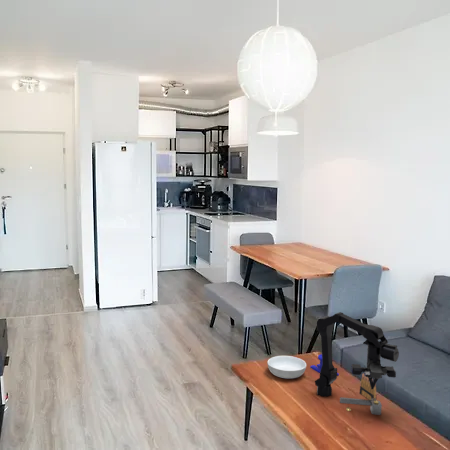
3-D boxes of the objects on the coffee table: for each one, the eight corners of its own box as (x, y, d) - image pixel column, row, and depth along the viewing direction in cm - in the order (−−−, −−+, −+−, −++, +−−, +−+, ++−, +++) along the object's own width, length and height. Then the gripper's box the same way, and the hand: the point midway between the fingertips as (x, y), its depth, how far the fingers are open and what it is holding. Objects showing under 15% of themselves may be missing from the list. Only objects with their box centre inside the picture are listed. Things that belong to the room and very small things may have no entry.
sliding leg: (371, 414, 209) (372, 403, 208) (368, 405, 217) (369, 394, 217) (381, 414, 209) (381, 403, 208) (377, 406, 217) (378, 395, 216)
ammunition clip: (376, 405, 220) (377, 381, 219) (372, 405, 220) (374, 381, 218) (362, 395, 230) (363, 371, 229) (359, 395, 230) (360, 372, 228)
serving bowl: (288, 364, 266) (289, 352, 265) (313, 378, 248) (314, 366, 247) (259, 371, 255) (259, 359, 254) (283, 386, 237) (283, 373, 236)
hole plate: (343, 418, 207) (343, 410, 207) (339, 404, 220) (340, 397, 220) (384, 421, 205) (385, 414, 205) (378, 407, 218) (379, 400, 218)
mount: (338, 376, 252) (339, 360, 251) (328, 378, 248) (329, 362, 247) (320, 365, 265) (321, 351, 264) (310, 368, 261) (310, 353, 260)
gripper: (354, 360, 201) (353, 395, 203) (399, 363, 199) (397, 398, 200) (351, 351, 212) (350, 384, 214) (393, 354, 210) (392, 387, 211)
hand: (372, 388), depth 210 cm, fingers closed
